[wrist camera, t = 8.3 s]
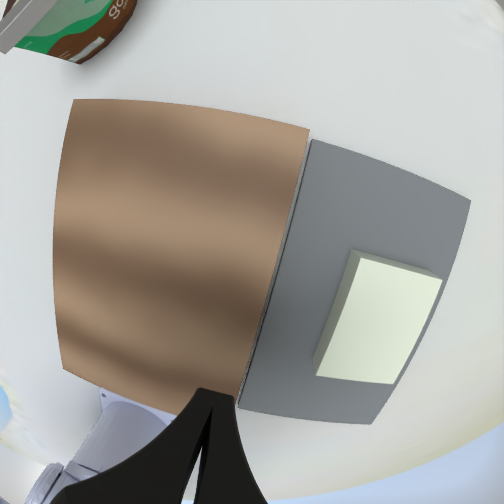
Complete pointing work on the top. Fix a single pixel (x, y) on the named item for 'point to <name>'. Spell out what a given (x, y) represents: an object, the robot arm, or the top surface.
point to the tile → (374, 319)
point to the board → (167, 243)
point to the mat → (331, 272)
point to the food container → (63, 26)
